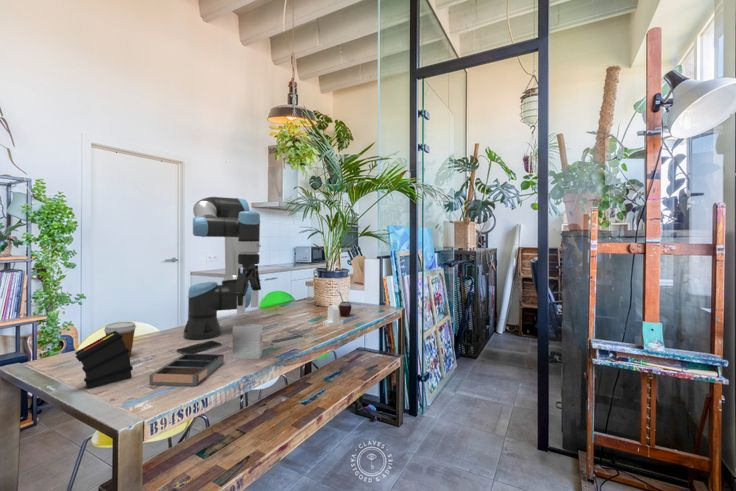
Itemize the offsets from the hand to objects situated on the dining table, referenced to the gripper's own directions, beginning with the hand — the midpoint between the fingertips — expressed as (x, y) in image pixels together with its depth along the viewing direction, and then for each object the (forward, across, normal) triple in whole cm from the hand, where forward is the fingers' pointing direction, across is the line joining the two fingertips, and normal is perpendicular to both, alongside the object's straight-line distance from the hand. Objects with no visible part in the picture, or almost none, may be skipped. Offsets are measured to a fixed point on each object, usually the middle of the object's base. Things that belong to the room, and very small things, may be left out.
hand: (248, 310), depth 127 cm
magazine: (+18, -24, +34) cm, 46 cm away
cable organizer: (+17, +52, -26) cm, 60 cm away
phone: (+18, +8, +22) cm, 30 cm away
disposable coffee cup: (+17, -4, +45) cm, 49 cm away
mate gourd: (+17, +70, -30) cm, 78 cm away
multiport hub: (+18, +18, -10) cm, 27 cm away
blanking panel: (+18, 0, 0) cm, 18 cm away
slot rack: (+18, -16, +13) cm, 27 cm away
